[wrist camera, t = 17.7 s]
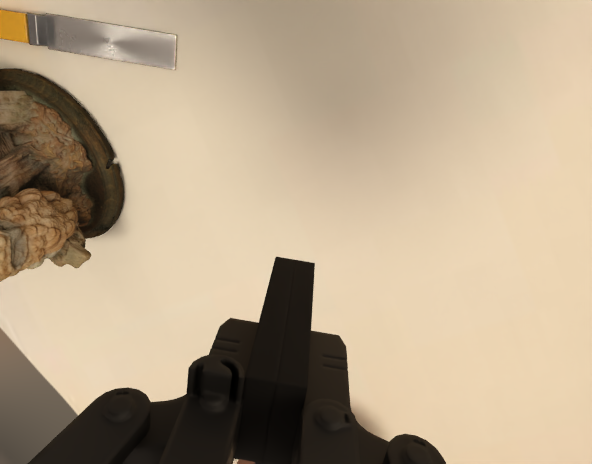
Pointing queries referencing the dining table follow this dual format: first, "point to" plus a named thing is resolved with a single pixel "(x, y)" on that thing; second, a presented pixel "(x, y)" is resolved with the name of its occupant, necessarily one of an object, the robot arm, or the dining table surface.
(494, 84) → the dining table surface
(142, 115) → the dining table surface
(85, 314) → the dining table surface
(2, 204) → the beige stone figure
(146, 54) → the yellow handled chisel
